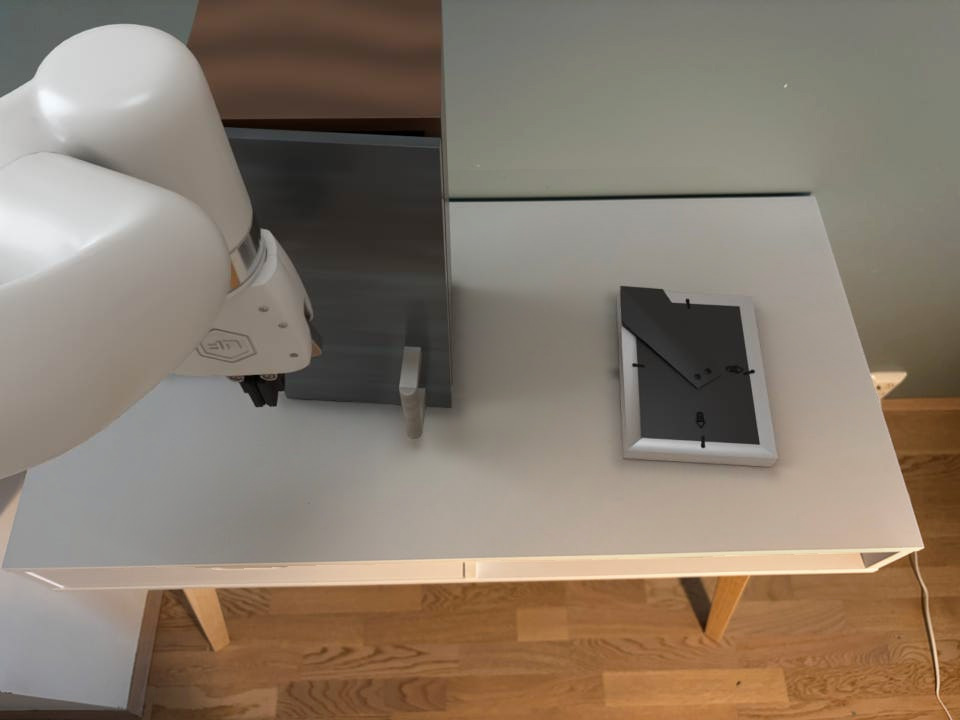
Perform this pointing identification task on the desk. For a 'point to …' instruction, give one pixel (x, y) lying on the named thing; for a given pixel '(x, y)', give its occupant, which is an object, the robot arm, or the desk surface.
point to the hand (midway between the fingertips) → (268, 390)
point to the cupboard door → (360, 259)
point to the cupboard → (328, 70)
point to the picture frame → (692, 379)
